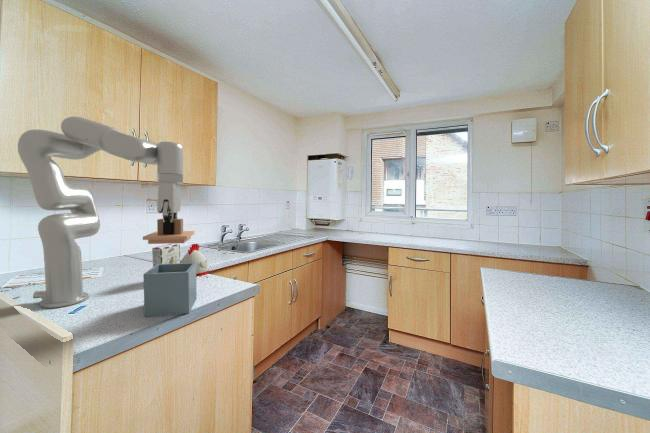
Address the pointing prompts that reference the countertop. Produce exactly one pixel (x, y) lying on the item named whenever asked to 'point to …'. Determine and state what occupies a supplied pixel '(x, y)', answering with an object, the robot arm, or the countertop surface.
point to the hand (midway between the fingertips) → (170, 232)
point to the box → (169, 289)
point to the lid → (162, 238)
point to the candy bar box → (166, 254)
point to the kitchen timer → (196, 260)
